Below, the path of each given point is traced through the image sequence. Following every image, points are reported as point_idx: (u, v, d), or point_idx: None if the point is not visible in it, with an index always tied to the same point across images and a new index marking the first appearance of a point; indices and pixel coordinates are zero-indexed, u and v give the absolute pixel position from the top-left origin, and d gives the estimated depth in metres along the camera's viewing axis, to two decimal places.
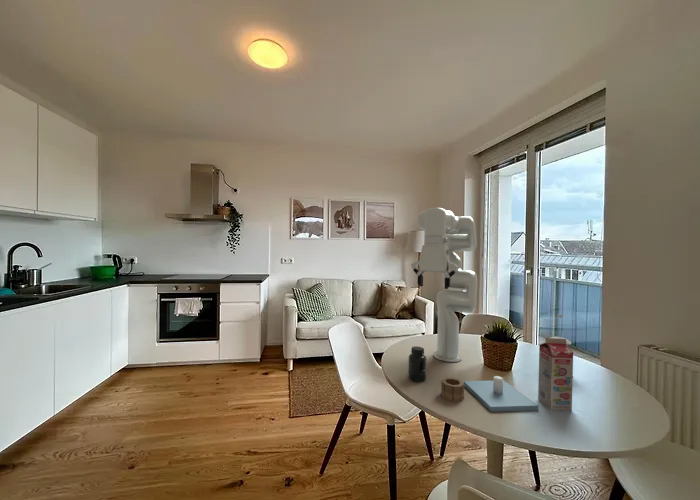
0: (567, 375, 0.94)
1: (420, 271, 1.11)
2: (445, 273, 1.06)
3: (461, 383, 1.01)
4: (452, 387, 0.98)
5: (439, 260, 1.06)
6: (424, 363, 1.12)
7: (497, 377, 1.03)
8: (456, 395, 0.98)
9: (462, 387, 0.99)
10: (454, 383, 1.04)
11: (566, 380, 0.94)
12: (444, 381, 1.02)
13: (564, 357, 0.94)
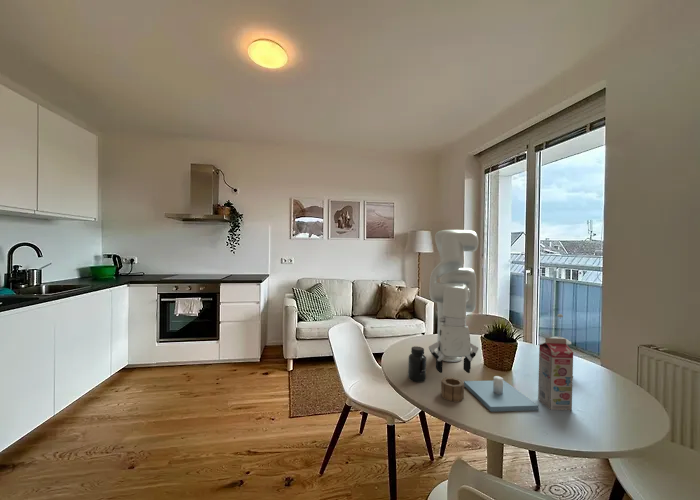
0: (567, 375, 0.94)
1: None
2: None
3: (461, 383, 1.01)
4: (452, 387, 0.98)
5: None
6: (424, 363, 1.12)
7: (497, 377, 1.03)
8: (456, 395, 0.98)
9: (462, 387, 0.99)
10: (454, 383, 1.04)
11: (566, 380, 0.94)
12: (444, 381, 1.02)
13: (564, 357, 0.94)
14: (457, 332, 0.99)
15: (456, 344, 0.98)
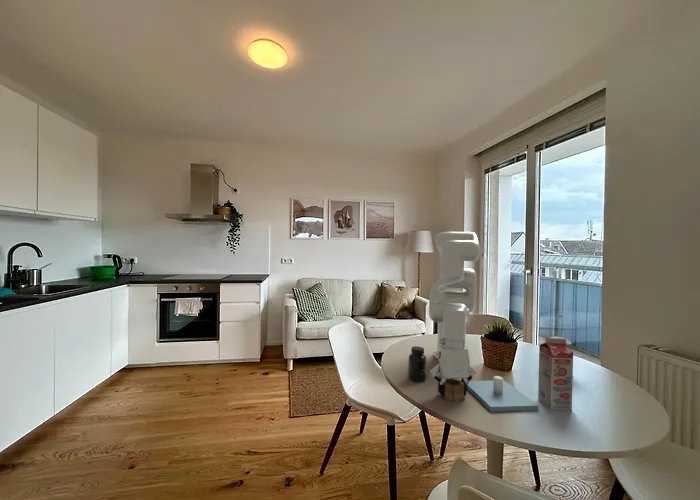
0: (567, 375, 0.94)
1: None
2: None
3: (461, 383, 1.01)
4: (452, 387, 0.98)
5: None
6: (424, 363, 1.12)
7: (497, 377, 1.03)
8: (456, 395, 0.98)
9: (462, 387, 0.99)
10: (454, 383, 1.04)
11: (566, 380, 0.94)
12: (444, 381, 1.02)
13: (564, 357, 0.94)
14: (457, 354, 0.99)
15: (456, 366, 0.99)
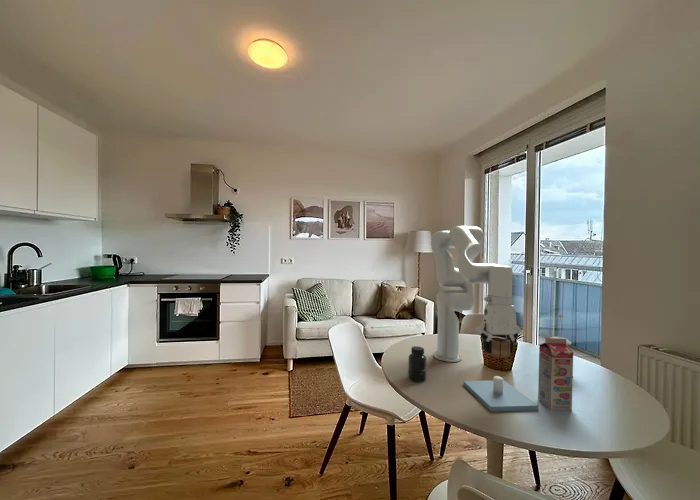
0: (567, 375, 0.94)
1: None
2: None
3: (507, 340, 1.01)
4: (499, 343, 0.99)
5: None
6: (424, 363, 1.12)
7: (497, 377, 1.03)
8: (503, 351, 0.99)
9: (509, 344, 1.00)
10: (499, 341, 1.04)
11: (566, 380, 0.94)
12: (490, 339, 1.02)
13: (564, 357, 0.94)
14: (504, 311, 0.99)
15: (503, 323, 0.99)
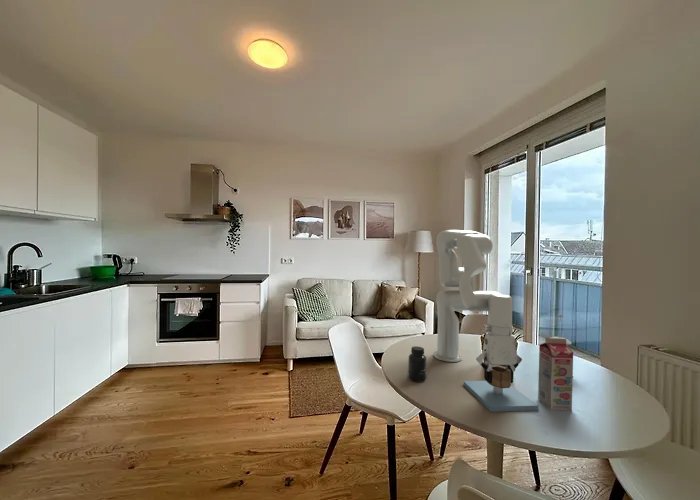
0: (567, 375, 0.94)
1: None
2: None
3: (508, 370, 1.01)
4: (500, 374, 0.99)
5: None
6: (424, 363, 1.12)
7: None
8: (504, 381, 0.98)
9: (510, 374, 0.99)
10: (500, 371, 1.04)
11: (566, 380, 0.94)
12: (491, 368, 1.02)
13: (564, 357, 0.94)
14: (504, 341, 0.99)
15: (503, 353, 0.99)
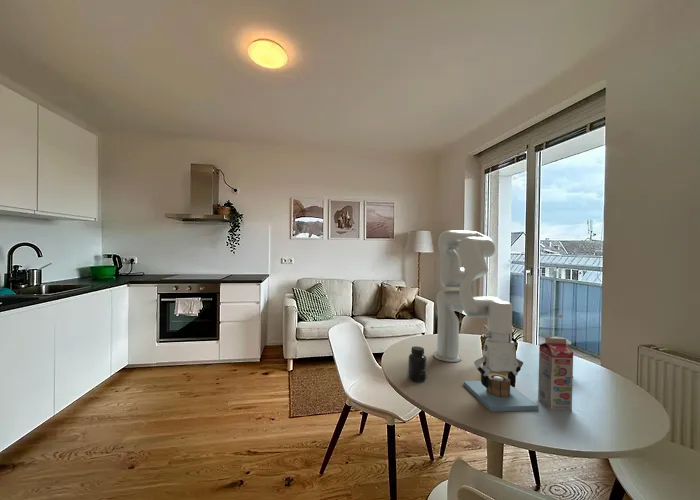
0: (567, 375, 0.94)
1: None
2: None
3: (507, 379, 1.01)
4: (499, 383, 0.99)
5: None
6: (424, 363, 1.12)
7: (497, 377, 1.03)
8: (503, 391, 0.99)
9: (509, 383, 1.00)
10: None
11: (566, 380, 0.94)
12: (490, 377, 1.02)
13: (564, 357, 0.94)
14: (504, 348, 0.99)
15: (503, 359, 0.99)
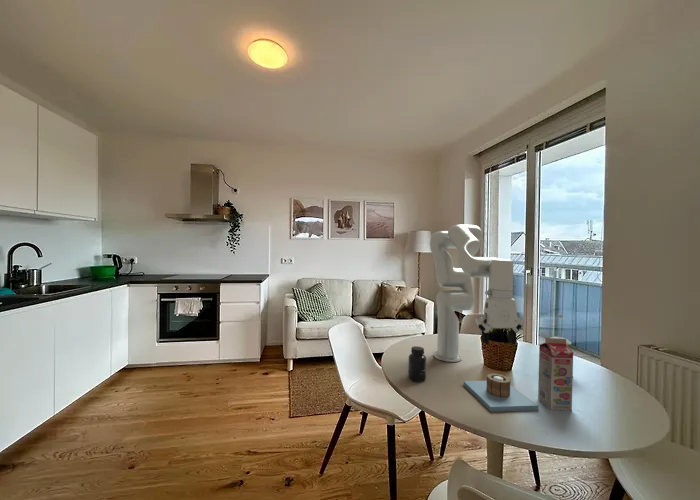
0: (567, 375, 0.94)
1: None
2: None
3: (507, 379, 1.01)
4: (499, 383, 0.99)
5: None
6: (424, 363, 1.12)
7: (497, 377, 1.03)
8: (503, 391, 0.99)
9: (509, 383, 1.00)
10: None
11: (566, 380, 0.94)
12: (490, 377, 1.02)
13: (564, 357, 0.94)
14: (504, 304, 1.00)
15: (504, 316, 1.00)
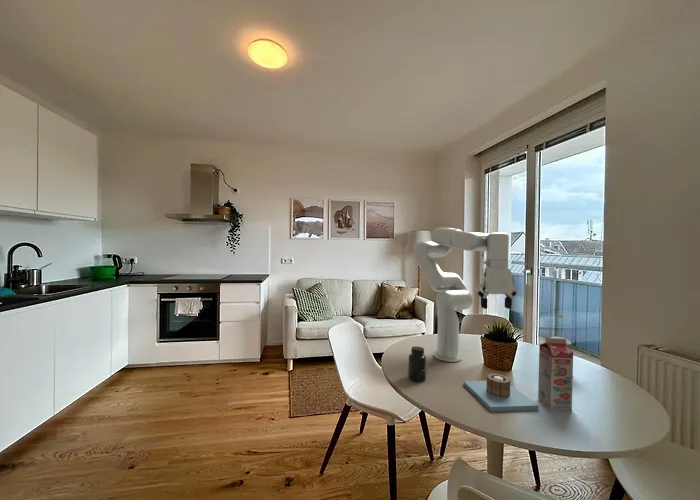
0: (567, 375, 0.94)
1: None
2: None
3: (507, 379, 1.01)
4: (499, 383, 0.99)
5: None
6: (424, 363, 1.12)
7: (497, 377, 1.03)
8: (503, 391, 0.99)
9: (509, 383, 1.00)
10: None
11: (566, 380, 0.94)
12: (490, 377, 1.02)
13: (564, 357, 0.94)
14: (501, 272, 1.12)
15: (500, 283, 1.12)
